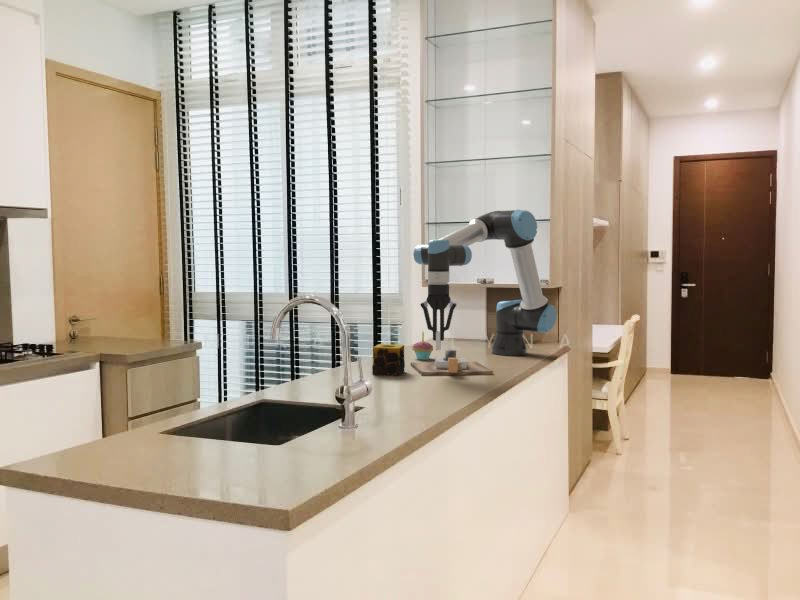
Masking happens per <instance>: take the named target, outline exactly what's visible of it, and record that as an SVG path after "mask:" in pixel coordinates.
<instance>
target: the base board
mask: <svg viewBox="0 0 800 600" xmlns="http://www.w3.org/2000/svg"><path fill="white" fill-rule="evenodd" d="M444 354H445V355H444V357H445V361H448V358H456V357H457V350H454V349H446V350H445V351H444ZM466 362H467V369H462V371H458V373H449V372H448V369H444V368H436V365H435V361H434V362H433V361H432V362H431V361H428V362H427V361H426V362H424V361H423V362H421V361H420V362H419V361H416V362H410V367H412V369H414V370H415V371H417V373H418V374H420V375H421V376H423V375H425V376H426V375H429V376H478V375H479V376H480V375H481V376H482V375H484V376H485V375H486V376H487V375H490V376H491V375H494V371H493V370H491V369H490V368H488V367H486V366H485V365H483V364H481V363H480V362H478V361H466Z"/></svg>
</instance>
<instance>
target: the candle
mask: <svg viewBox="0 0 800 600" xmlns="http://www.w3.org/2000/svg"><path fill="white" fill-rule="evenodd" d="M372 353H373V356H372V359H373V360H372V368H371V369H372V370H371V371H372V372H371V373H372V375H374V376H392V377H393V376H395V377H400V376H401V375H403V373H405V368H406V364H405V363H406V362H405V345H404V344H394V343H393V344H389V343H387V344H386V343H379V344H376V345H375V346H373V347H372Z"/></svg>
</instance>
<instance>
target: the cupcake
mask: <svg viewBox="0 0 800 600" xmlns="http://www.w3.org/2000/svg"><path fill="white" fill-rule="evenodd" d="M424 337H425V332H424V331H422V332H421V341H419V342H415V344H413V345H412V349H411V350H412V351H414V353H415V355H416V359H417V360H420V361H427V360H430V357H431V353H432V352H433V351H434V346H433V345H432V344H431V343H430V342H427V341H424V340H425V338H424Z"/></svg>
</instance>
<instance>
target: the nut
mask: <svg viewBox="0 0 800 600" xmlns="http://www.w3.org/2000/svg"><path fill="white" fill-rule="evenodd" d="M434 362H435V365H436V368H444V369H448V372H449V373H458V362H462V369H467V362H468V361H467V360H466V358H465V357H457V356H456V358H448V361H445V356H435V357H434Z"/></svg>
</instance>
